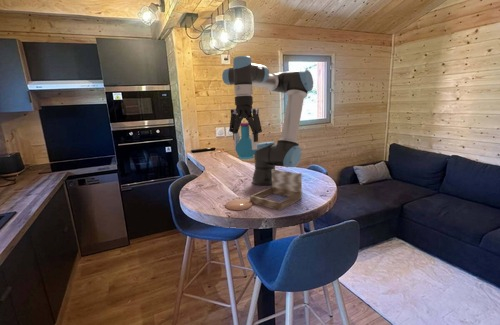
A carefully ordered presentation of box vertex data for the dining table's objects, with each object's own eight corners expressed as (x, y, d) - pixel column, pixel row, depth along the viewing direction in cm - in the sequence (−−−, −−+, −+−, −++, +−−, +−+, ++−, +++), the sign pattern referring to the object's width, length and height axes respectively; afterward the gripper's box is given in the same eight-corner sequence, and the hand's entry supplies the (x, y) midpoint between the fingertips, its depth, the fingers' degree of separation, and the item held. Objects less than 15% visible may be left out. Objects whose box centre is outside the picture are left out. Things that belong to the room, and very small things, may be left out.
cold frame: (250, 202, 126) (249, 177, 124) (273, 191, 140) (273, 169, 137) (280, 210, 115) (279, 183, 113) (302, 197, 129) (302, 173, 126)
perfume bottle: (235, 156, 123) (233, 123, 120) (255, 155, 124) (254, 122, 121) (236, 160, 114) (234, 124, 111) (258, 159, 115) (256, 123, 112)
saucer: (220, 206, 122) (220, 204, 122) (238, 198, 131) (238, 197, 131) (239, 212, 115) (239, 210, 114) (257, 204, 123) (257, 202, 123)
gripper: (218, 97, 117) (221, 148, 122) (258, 94, 104) (260, 151, 108) (230, 97, 123) (233, 145, 128) (270, 94, 109) (271, 149, 114)
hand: (245, 148), depth 118 cm, fingers closed on perfume bottle, 9 cm apart
